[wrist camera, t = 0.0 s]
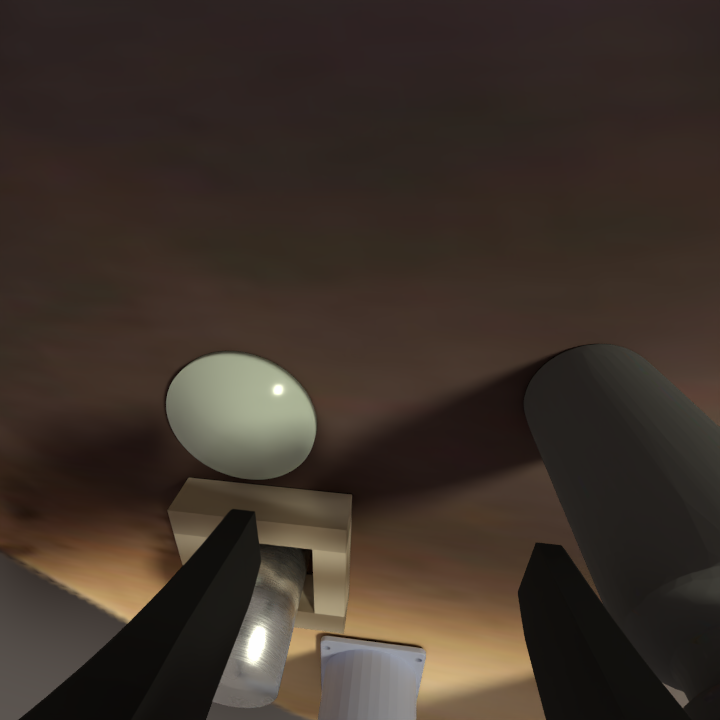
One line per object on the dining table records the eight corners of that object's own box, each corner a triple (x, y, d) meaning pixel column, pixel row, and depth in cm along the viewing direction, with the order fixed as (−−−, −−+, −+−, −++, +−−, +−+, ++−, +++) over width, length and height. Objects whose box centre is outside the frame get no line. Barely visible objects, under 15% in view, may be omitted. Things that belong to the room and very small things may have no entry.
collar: (348, 596, 29) (343, 633, 27) (212, 579, 29) (196, 614, 27) (352, 494, 24) (346, 530, 22) (188, 477, 25) (167, 510, 22)
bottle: (516, 444, 21) (693, 953, 8) (529, 343, 18) (838, 863, 5) (638, 446, 20) (1058, 1009, 7) (671, 340, 18) (1455, 940, 4)
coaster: (318, 478, 24) (316, 486, 23) (185, 465, 24) (180, 472, 24) (315, 357, 20) (313, 363, 19) (158, 345, 20) (151, 350, 20)
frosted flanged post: (313, 569, 28) (281, 714, 21) (242, 560, 28) (186, 700, 21) (311, 518, 25) (274, 663, 18) (233, 510, 26) (168, 648, 19)
